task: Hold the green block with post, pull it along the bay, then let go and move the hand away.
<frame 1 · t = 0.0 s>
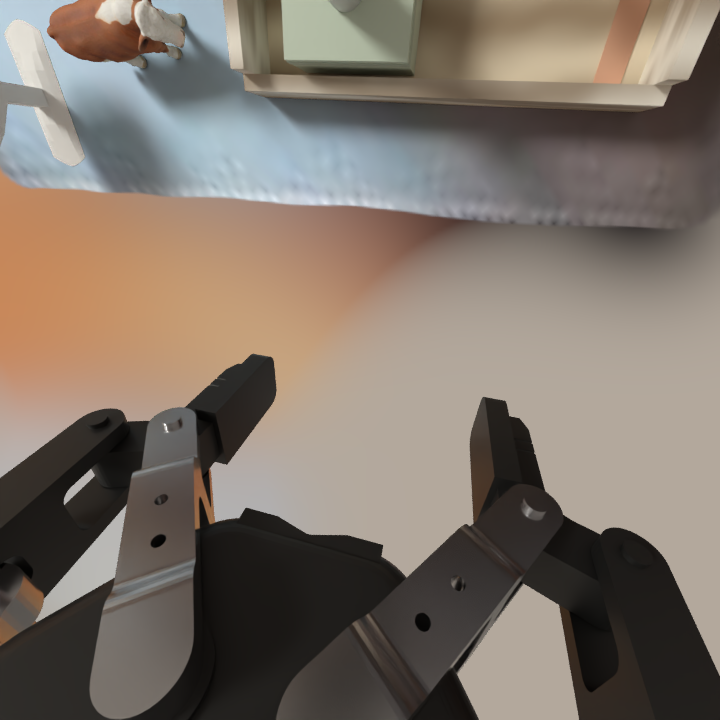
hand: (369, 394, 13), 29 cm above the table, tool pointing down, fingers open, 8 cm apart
bay: (446, 13, 28), on the table
bull figurine: (163, 43, 34), on the table
heart sculpture: (48, 99, 39), on the table
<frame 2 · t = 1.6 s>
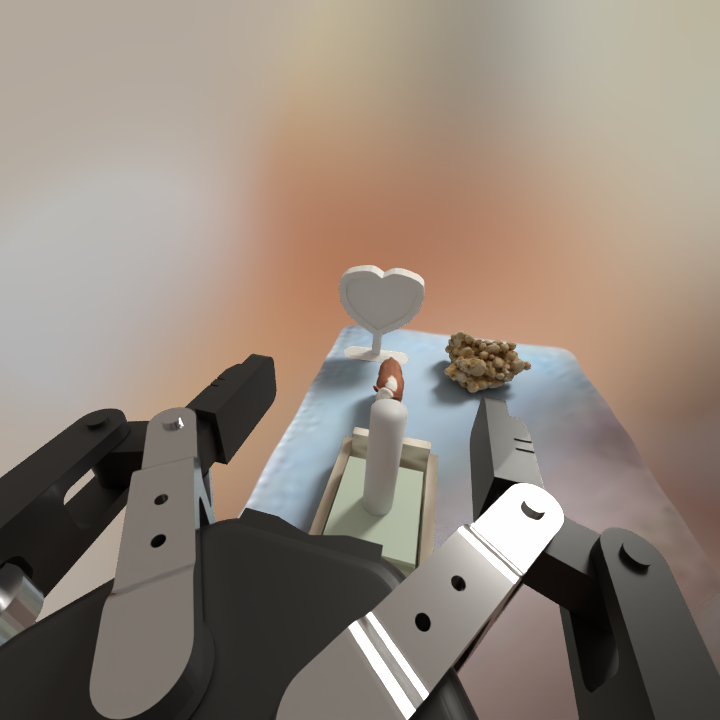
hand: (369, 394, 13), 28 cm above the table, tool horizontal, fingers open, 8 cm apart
green block with post: (380, 479, 32), point 10 cm above the table, slide at 0.0 cm
bay: (358, 609, 31), on the table
bull figurine: (386, 413, 55), on the table
mineral formation: (480, 380, 64), on the table
heart sculpture: (375, 356, 70), on the table
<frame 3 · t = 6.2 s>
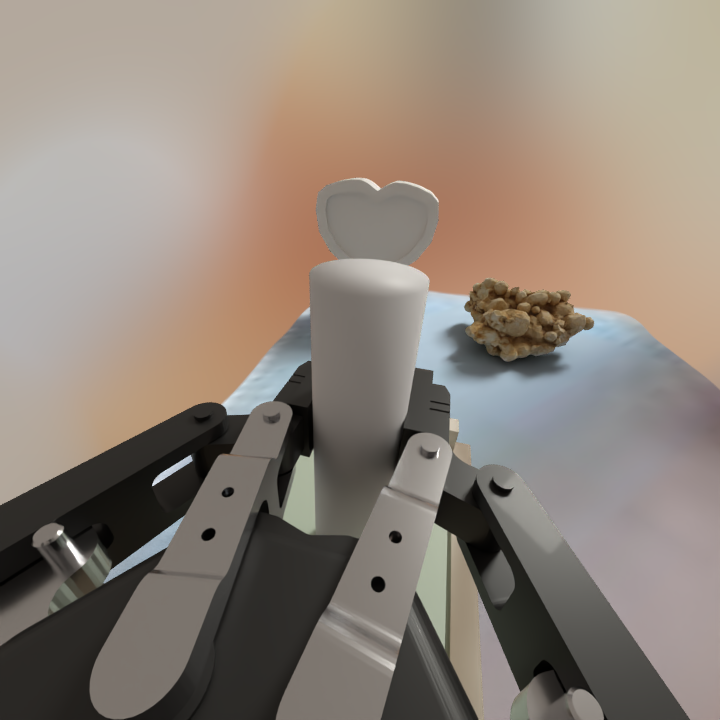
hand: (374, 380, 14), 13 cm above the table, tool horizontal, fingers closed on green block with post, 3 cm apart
green block with post: (353, 491, 13), point 10 cm above the table, slide at 0.0 cm, touching gripper
mineral formation: (515, 347, 45), on the table
heart sculpture: (369, 315, 51), on the table
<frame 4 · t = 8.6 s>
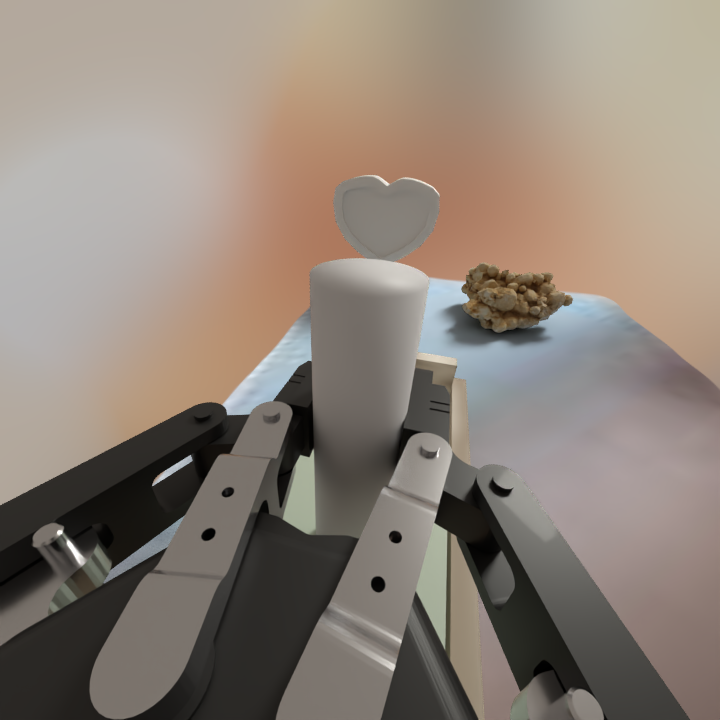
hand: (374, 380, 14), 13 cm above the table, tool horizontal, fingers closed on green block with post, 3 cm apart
green block with post: (354, 490, 13), point 10 cm above the table, slide at 8.1 cm, touching gripper
bay: (350, 583, 19), on the table
mineral formation: (506, 323, 51), on the table
heart sculpture: (378, 296, 58), on the table
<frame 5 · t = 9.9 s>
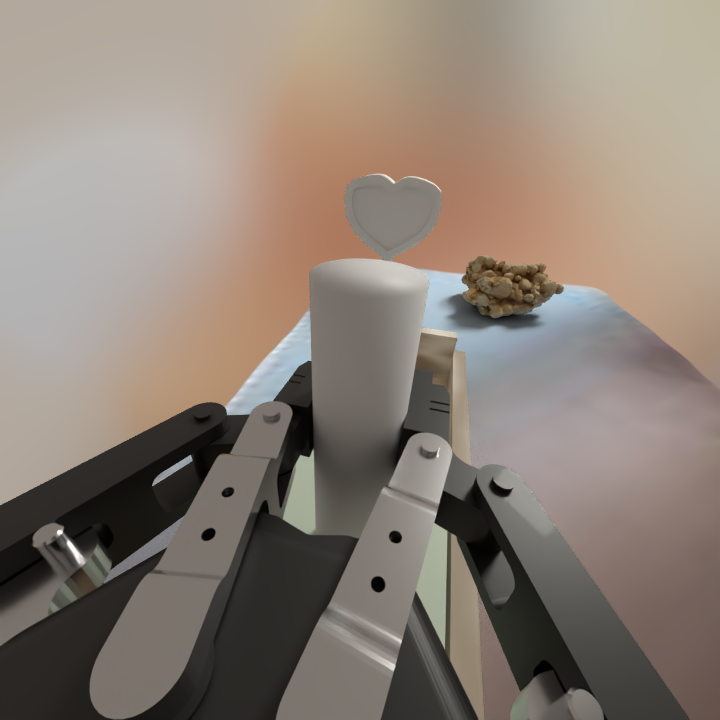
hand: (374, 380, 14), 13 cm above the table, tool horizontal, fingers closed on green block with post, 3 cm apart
green block with post: (353, 490, 13), point 10 cm above the table, slide at 13.4 cm, touching gripper
bay: (370, 504, 23), on the table
mineral formation: (503, 310, 56), on the table
heart sculpture: (384, 287, 62), on the table
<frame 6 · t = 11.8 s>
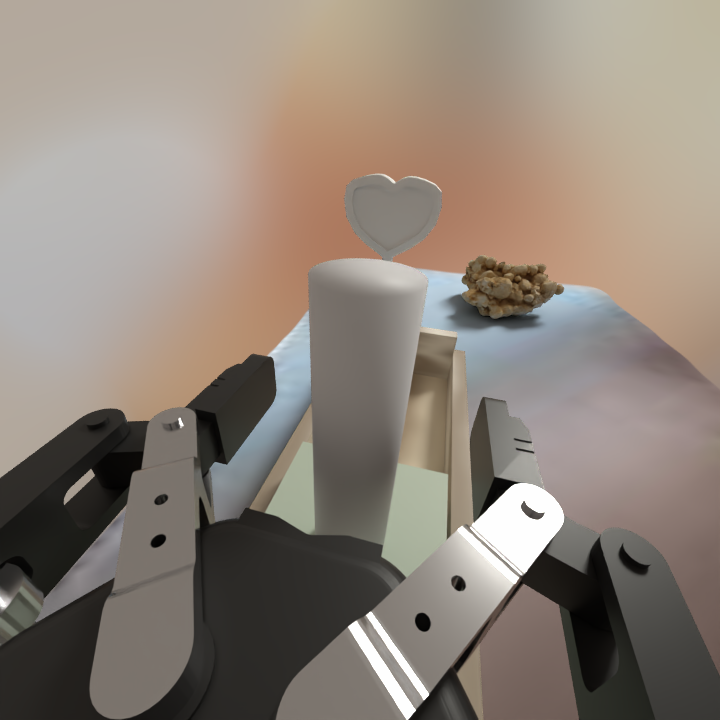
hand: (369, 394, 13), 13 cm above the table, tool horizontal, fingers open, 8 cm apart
green block with post: (353, 490, 13), point 10 cm above the table, slide at 13.5 cm
bay: (370, 502, 23), on the table
mineral formation: (503, 311, 55), on the table
heart sculpture: (384, 286, 62), on the table
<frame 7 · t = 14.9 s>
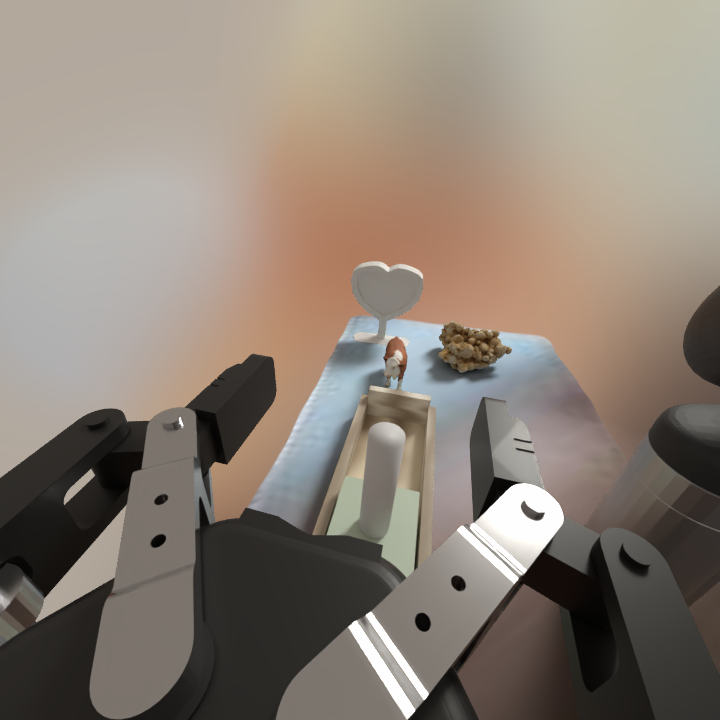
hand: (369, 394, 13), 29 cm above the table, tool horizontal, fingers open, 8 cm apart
green block with post: (377, 501, 31), point 10 cm above the table, slide at 13.5 cm
bay: (378, 507, 42), on the table
bull figurine: (392, 382, 66), on the table
mineral formation: (469, 363, 74), on the table
heart sculpture: (381, 340, 81), on the table
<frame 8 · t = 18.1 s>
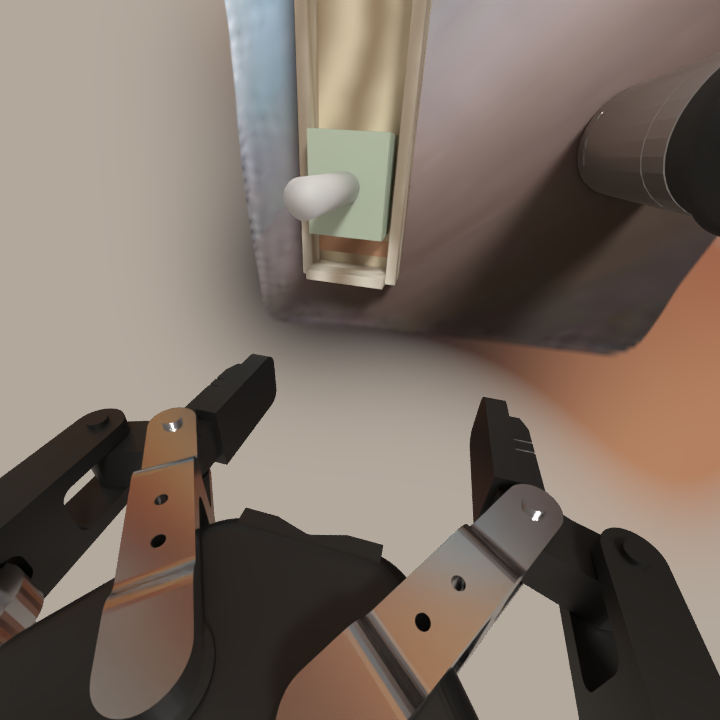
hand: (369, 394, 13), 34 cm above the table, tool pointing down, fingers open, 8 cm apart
green block with post: (335, 190, 32), point 10 cm above the table, slide at 13.5 cm
bay: (363, 117, 37), on the table
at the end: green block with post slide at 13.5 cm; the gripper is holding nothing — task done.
